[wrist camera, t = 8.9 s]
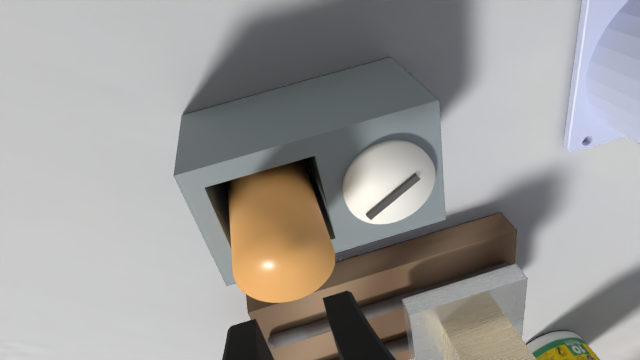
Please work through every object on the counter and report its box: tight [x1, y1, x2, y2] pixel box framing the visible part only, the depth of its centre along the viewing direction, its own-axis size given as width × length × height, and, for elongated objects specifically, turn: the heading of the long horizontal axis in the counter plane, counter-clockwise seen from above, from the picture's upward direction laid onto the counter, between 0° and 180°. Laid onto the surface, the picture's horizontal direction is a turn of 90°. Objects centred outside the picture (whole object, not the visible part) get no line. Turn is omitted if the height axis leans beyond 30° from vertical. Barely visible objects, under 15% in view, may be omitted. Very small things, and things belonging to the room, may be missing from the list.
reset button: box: [227, 160, 335, 303], centre depth 15 cm, size 3×3×5 cm
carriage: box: [402, 264, 536, 360], centre depth 22 cm, size 6×6×4 cm
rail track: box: [246, 213, 517, 360], centre depth 24 cm, size 14×8×2 cm, turn 102°
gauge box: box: [174, 57, 446, 286], centre depth 17 cm, size 8×5×5 cm, turn 102°
